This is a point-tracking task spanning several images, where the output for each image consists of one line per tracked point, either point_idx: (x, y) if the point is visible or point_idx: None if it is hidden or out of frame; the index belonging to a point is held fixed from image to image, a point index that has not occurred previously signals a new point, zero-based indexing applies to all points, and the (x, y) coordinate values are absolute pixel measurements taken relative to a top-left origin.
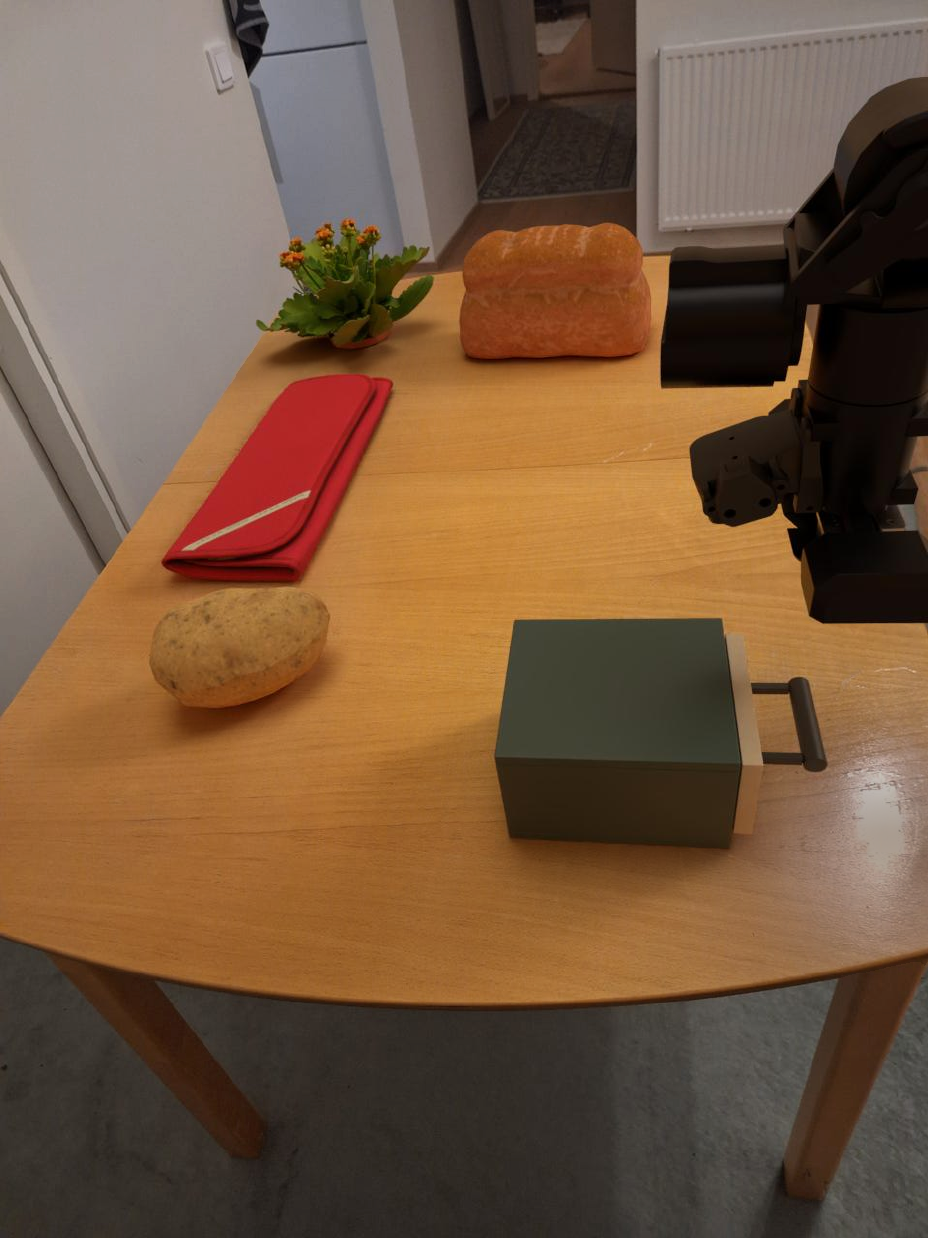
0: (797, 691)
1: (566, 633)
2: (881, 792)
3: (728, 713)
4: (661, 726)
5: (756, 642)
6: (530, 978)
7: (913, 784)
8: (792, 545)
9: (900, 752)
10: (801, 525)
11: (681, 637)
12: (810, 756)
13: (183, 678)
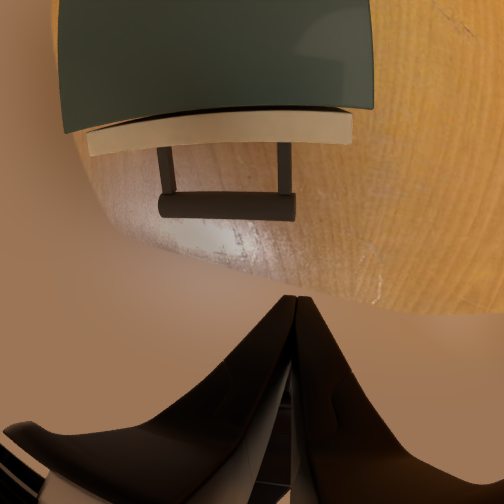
0: (266, 205)
1: None
2: (233, 244)
3: (128, 110)
4: (101, 25)
5: (438, 173)
6: None
7: (244, 269)
8: (45, 462)
9: (279, 269)
10: (311, 495)
11: (311, 25)
12: (161, 203)
13: None
